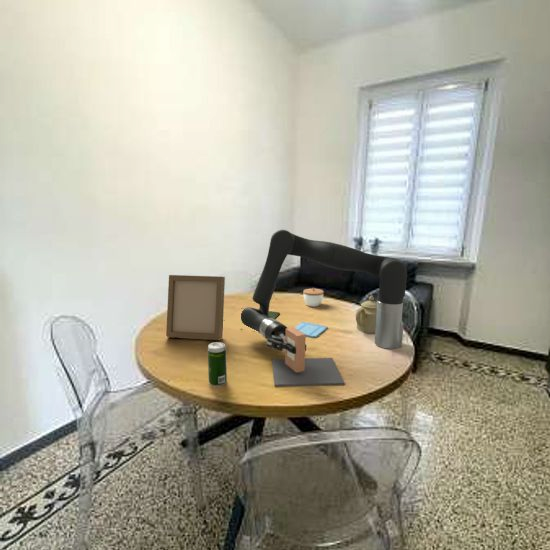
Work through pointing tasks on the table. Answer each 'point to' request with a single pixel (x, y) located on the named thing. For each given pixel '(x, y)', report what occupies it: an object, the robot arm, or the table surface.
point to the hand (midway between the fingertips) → (300, 349)
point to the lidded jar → (313, 297)
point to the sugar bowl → (367, 316)
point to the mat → (307, 373)
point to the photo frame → (195, 307)
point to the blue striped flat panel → (311, 329)
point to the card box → (298, 341)
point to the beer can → (217, 364)
